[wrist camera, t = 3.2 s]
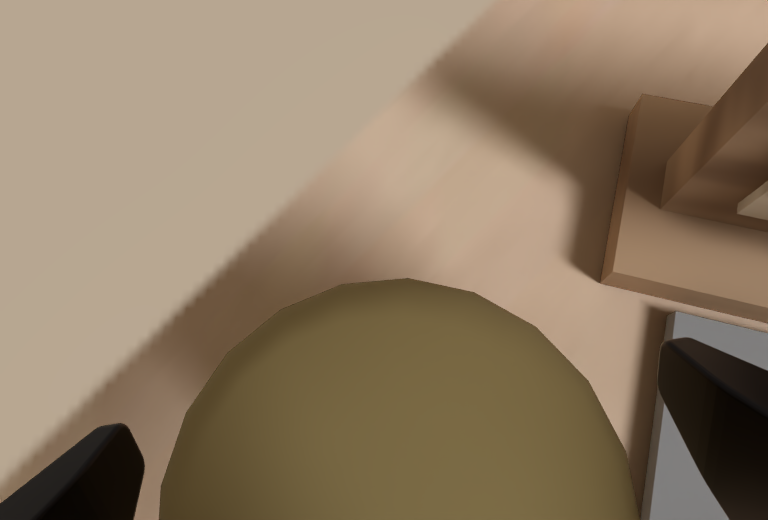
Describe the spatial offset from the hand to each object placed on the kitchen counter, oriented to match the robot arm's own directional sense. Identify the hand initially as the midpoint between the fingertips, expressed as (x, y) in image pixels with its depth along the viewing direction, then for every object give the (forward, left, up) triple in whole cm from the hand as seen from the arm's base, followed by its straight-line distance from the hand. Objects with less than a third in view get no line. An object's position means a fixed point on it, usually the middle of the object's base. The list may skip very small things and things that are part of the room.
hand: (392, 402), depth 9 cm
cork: (-1, -1, -7) cm, 7 cm away
